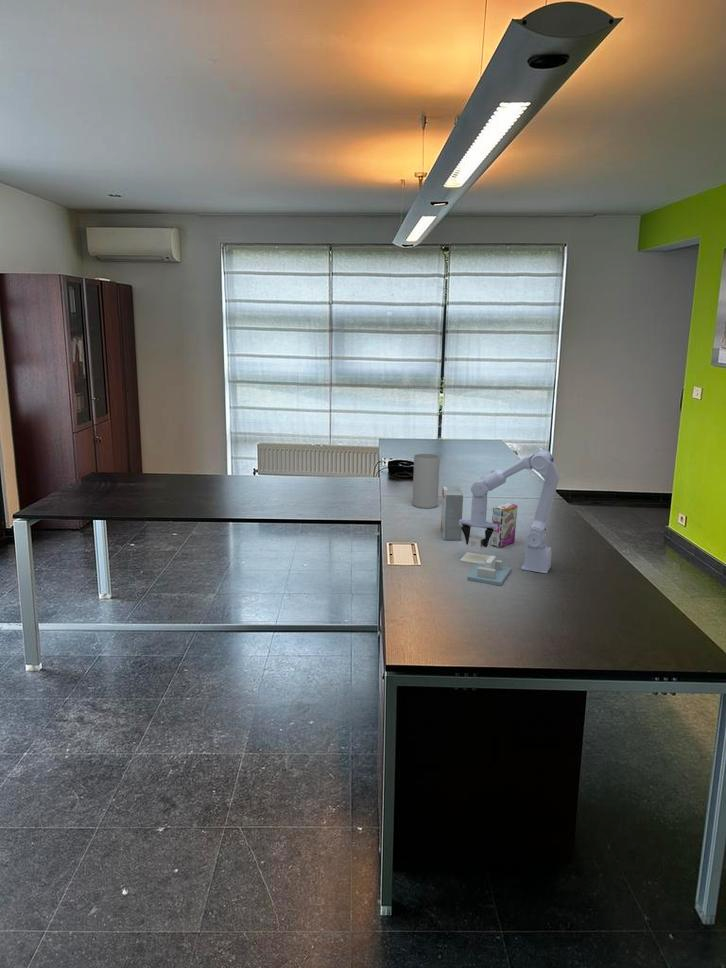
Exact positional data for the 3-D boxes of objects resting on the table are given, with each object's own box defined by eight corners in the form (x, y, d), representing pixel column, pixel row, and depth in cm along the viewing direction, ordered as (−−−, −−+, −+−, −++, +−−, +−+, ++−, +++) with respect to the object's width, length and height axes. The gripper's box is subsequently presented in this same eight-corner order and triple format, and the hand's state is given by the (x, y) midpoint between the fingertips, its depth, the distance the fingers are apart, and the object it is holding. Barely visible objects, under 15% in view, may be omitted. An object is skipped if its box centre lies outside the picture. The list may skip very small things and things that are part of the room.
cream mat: (492, 557, 263) (492, 556, 263) (485, 565, 254) (485, 564, 254) (467, 553, 267) (467, 552, 267) (459, 560, 258) (459, 559, 258)
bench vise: (511, 571, 248) (512, 555, 247) (500, 585, 234) (502, 568, 233) (479, 565, 253) (479, 550, 252) (467, 580, 239) (468, 563, 237)
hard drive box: (440, 529, 298) (442, 485, 293) (457, 529, 297) (459, 485, 293) (443, 540, 282) (445, 494, 278) (461, 540, 282) (464, 494, 278)
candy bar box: (500, 548, 273) (502, 509, 270) (489, 545, 277) (492, 507, 273) (515, 542, 281) (518, 504, 277) (505, 539, 284) (507, 502, 281)
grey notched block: (485, 547, 259) (486, 537, 258) (479, 549, 256) (480, 540, 255) (473, 543, 263) (474, 534, 262) (467, 546, 260) (468, 536, 259)
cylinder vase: (431, 501, 344) (433, 453, 339) (441, 507, 333) (443, 458, 327) (408, 503, 340) (410, 454, 335) (418, 509, 329) (420, 459, 323)
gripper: (500, 511, 257) (498, 545, 260) (463, 506, 263) (461, 539, 266) (495, 515, 250) (493, 550, 254) (458, 510, 256) (456, 544, 259)
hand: (476, 545), depth 259 cm, fingers closed on grey notched block, 7 cm apart
